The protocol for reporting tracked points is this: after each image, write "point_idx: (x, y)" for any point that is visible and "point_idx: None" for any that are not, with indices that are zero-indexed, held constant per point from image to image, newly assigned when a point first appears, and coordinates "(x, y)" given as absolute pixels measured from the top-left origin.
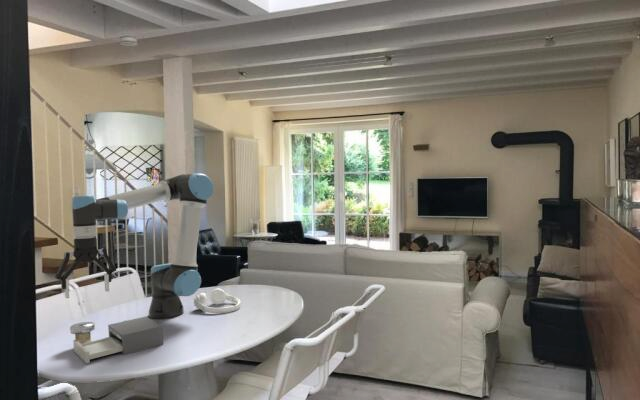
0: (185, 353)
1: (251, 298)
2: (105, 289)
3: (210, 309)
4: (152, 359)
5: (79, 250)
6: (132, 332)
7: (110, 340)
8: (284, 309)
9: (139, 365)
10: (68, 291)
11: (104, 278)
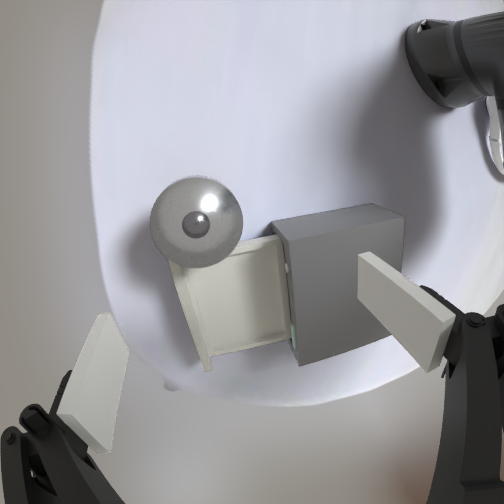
0: (369, 367)
1: None
2: (363, 271)
3: (498, 158)
4: (320, 374)
5: None
6: (324, 356)
7: (275, 253)
8: None
9: (293, 388)
10: (119, 383)
11: (414, 299)
